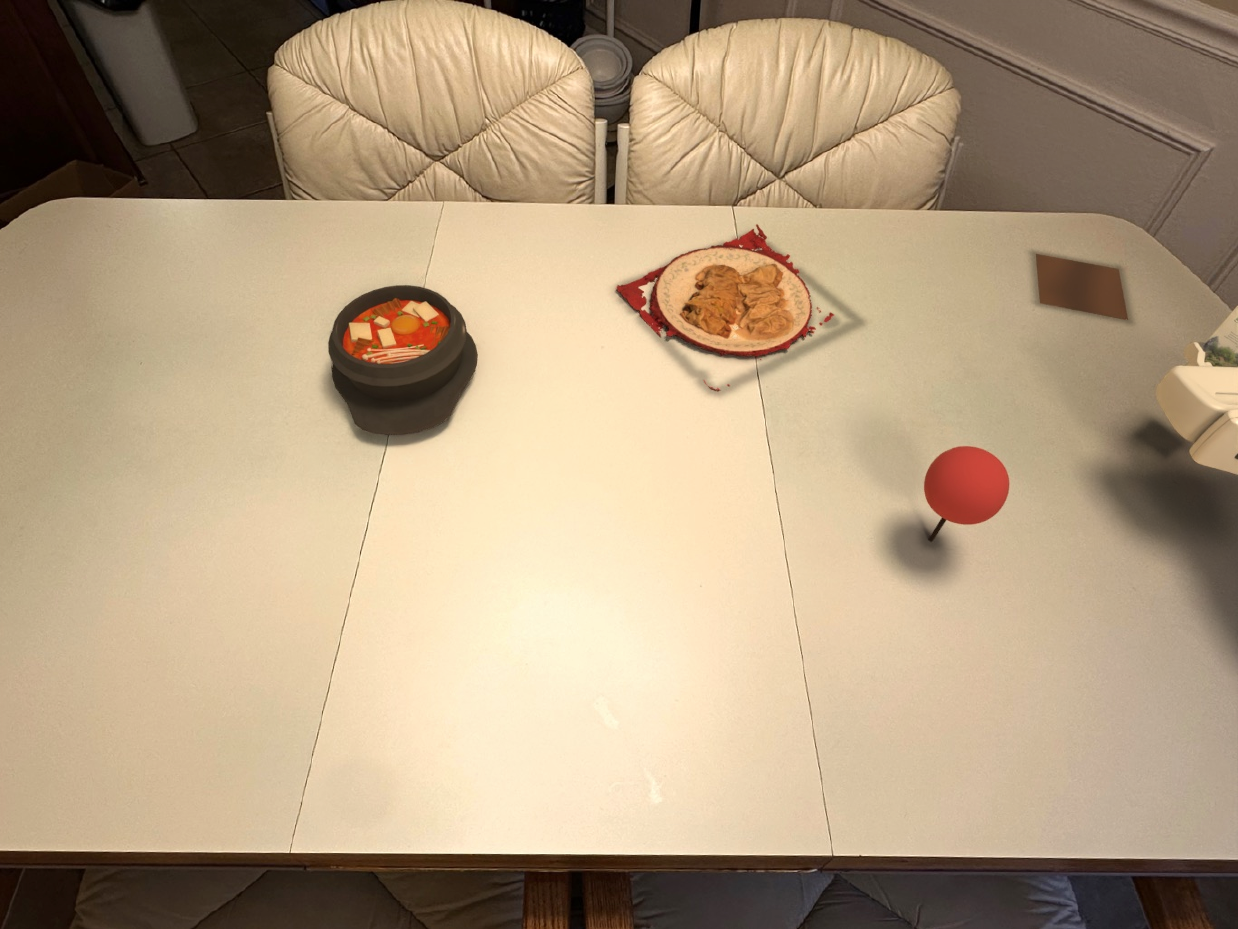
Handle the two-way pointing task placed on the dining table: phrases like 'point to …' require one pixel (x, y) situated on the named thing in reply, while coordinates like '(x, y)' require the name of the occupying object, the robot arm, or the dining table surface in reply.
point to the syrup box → (1225, 343)
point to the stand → (1080, 286)
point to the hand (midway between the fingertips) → (1233, 347)
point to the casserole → (400, 359)
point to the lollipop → (966, 486)
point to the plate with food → (728, 298)
